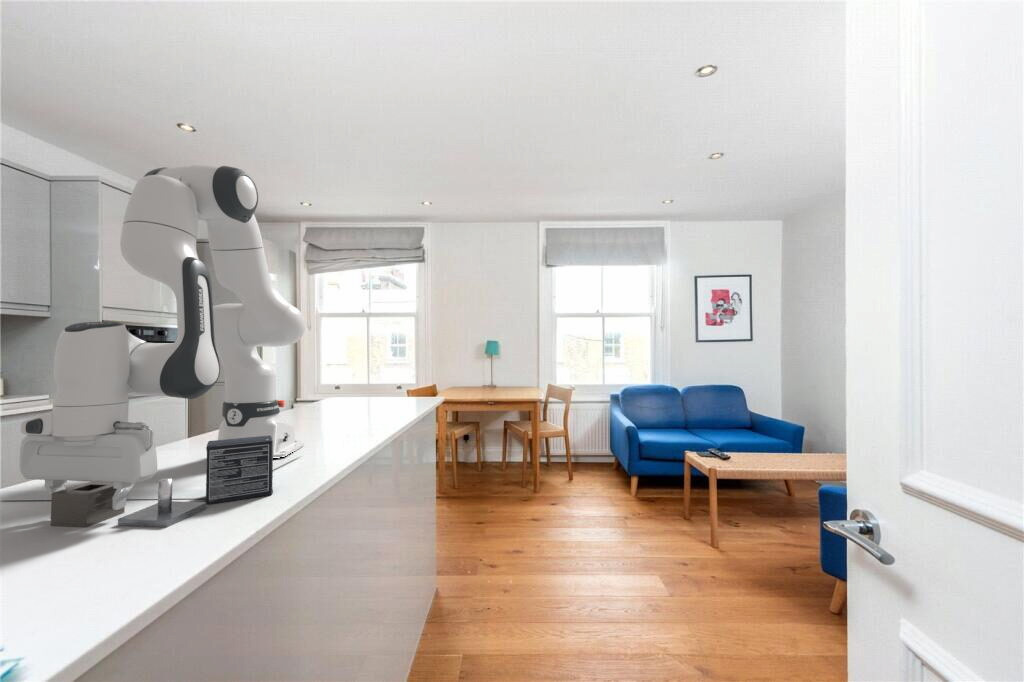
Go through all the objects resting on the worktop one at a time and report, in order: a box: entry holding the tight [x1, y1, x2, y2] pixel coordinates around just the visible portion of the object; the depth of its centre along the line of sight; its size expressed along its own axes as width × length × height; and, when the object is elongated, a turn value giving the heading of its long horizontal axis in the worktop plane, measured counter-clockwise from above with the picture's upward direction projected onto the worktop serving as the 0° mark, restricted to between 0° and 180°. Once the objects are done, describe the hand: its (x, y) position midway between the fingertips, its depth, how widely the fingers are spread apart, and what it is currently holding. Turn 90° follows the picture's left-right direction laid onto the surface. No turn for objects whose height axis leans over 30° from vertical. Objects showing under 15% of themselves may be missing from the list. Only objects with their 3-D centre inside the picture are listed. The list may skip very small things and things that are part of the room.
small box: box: [204, 435, 274, 506], centre depth 81 cm, size 11×6×10 cm, turn 122°
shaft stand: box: [117, 477, 208, 528], centre depth 71 cm, size 8×8×6 cm
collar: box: [50, 481, 126, 528], centre depth 69 cm, size 6×6×5 cm
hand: (88, 507), depth 69 cm, fingers open, 8 cm apart
